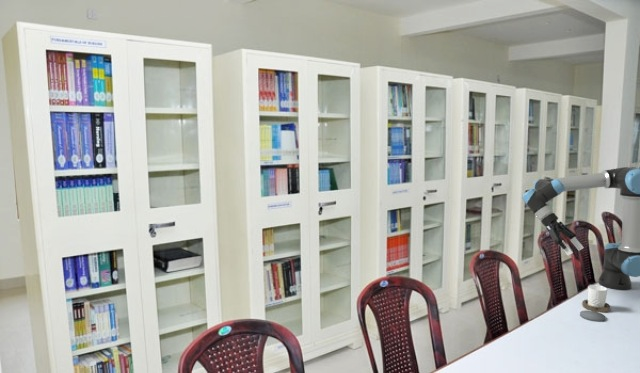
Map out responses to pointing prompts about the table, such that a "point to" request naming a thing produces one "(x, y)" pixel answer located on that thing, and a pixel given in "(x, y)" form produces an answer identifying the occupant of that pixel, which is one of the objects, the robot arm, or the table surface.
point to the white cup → (597, 295)
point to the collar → (596, 309)
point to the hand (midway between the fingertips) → (576, 251)
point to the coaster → (592, 316)
